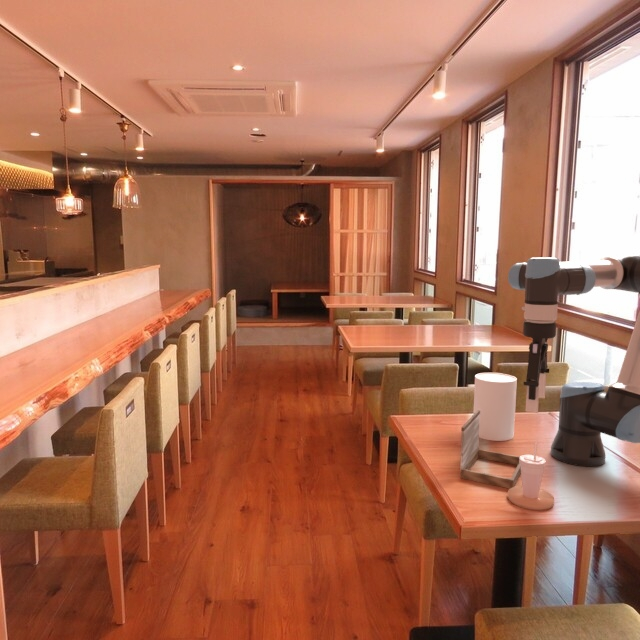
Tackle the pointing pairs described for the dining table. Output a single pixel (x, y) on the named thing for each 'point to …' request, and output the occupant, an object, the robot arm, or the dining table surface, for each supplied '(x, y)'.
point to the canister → (495, 405)
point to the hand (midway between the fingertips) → (535, 404)
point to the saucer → (540, 503)
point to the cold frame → (473, 453)
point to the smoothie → (531, 473)
